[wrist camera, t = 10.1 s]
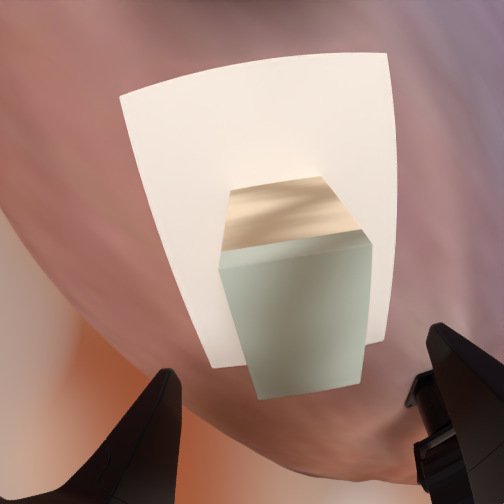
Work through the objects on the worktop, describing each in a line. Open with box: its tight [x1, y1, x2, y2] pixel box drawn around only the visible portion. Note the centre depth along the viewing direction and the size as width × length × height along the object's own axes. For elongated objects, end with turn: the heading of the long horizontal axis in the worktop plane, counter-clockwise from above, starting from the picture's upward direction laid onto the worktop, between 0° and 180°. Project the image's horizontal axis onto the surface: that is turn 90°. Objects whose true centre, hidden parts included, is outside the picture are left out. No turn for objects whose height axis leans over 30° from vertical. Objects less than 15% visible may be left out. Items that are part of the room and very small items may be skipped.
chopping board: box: [119, 53, 397, 368], centre depth 17 cm, size 19×13×1 cm
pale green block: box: [218, 176, 373, 400], centre depth 13 cm, size 4×7×7 cm, turn 10°
